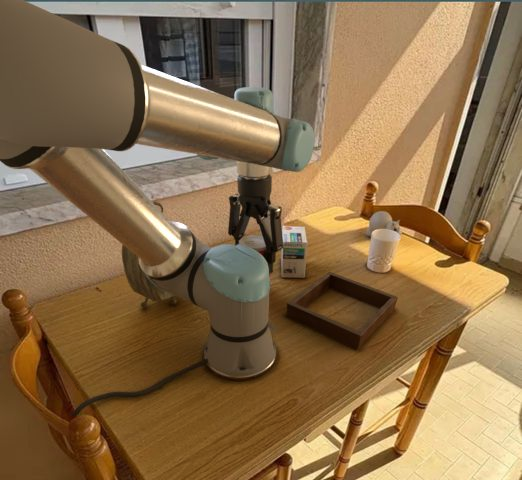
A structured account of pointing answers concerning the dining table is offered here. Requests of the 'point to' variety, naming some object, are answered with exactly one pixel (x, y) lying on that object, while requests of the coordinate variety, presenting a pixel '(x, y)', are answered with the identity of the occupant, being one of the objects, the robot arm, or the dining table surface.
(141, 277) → the tabletop clock
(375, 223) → the grey animal figurine
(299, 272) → the light bulb box
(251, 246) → the canned food
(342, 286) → the crate
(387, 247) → the white cup
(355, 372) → the dining table surface
